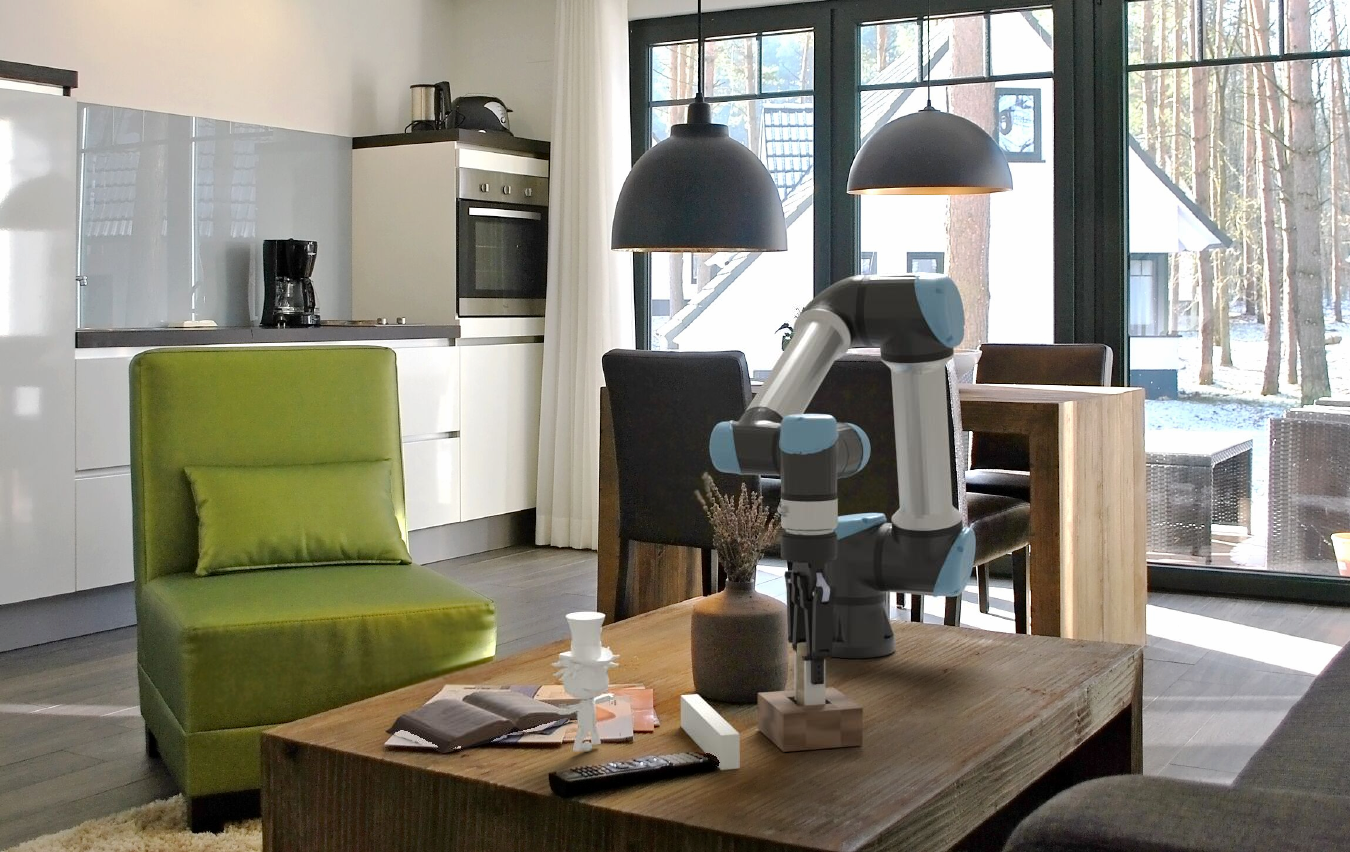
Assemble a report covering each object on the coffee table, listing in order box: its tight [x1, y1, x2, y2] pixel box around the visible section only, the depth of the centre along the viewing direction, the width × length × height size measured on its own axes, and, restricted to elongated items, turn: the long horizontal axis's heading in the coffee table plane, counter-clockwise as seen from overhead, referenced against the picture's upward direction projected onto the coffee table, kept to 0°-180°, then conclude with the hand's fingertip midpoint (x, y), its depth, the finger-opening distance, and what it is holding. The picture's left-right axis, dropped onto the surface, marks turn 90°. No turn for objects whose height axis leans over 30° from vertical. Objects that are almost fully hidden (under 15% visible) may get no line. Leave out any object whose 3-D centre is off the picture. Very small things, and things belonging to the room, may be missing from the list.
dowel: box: [797, 642, 807, 706], centre depth 189 cm, size 3×3×12 cm
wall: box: [680, 693, 741, 771], centre depth 186 cm, size 20×2×4 cm, turn 14°
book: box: [384, 690, 577, 754], centre depth 197 cm, size 20×28×4 cm
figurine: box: [550, 611, 621, 753], centre depth 183 cm, size 10×8×18 cm
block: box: [757, 686, 864, 753], centre depth 189 cm, size 11×11×5 cm
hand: (809, 702), depth 189 cm, fingers open, 3 cm apart
